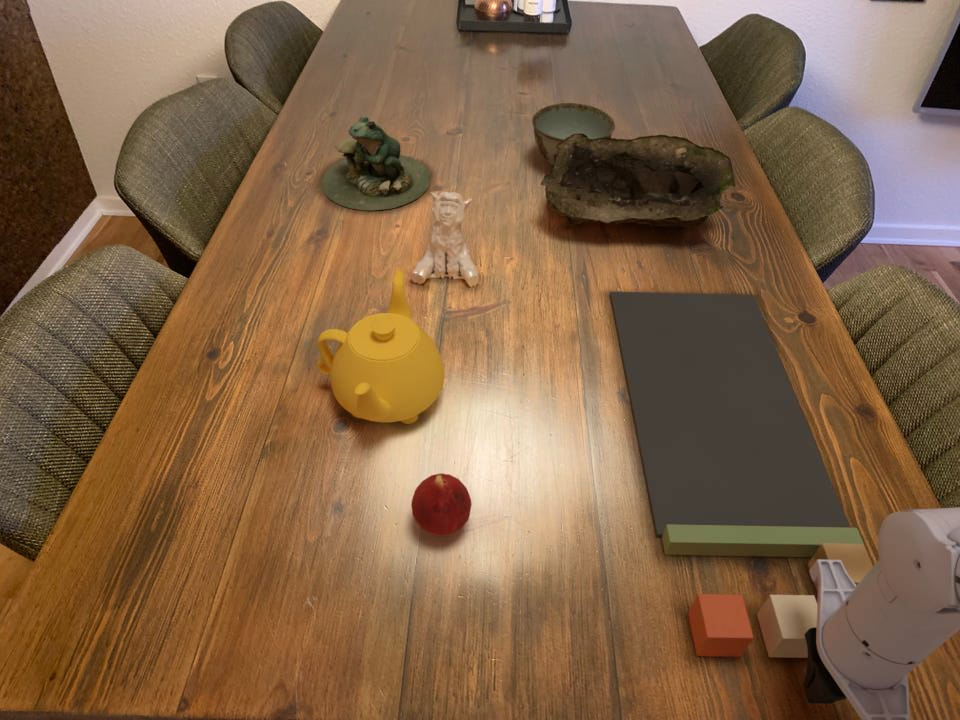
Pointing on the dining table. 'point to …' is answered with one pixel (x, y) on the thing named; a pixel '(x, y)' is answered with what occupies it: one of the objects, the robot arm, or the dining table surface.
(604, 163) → the hollow geode rock
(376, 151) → the frog figurine
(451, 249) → the sitting furry creature
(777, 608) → the ivory block
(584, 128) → the bowl
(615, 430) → the dining table surface
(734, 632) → the terracotta block
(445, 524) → the onion
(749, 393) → the line board
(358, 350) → the teapot
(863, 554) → the birch block
